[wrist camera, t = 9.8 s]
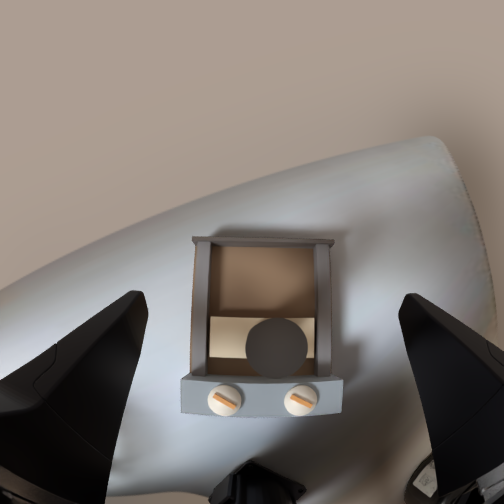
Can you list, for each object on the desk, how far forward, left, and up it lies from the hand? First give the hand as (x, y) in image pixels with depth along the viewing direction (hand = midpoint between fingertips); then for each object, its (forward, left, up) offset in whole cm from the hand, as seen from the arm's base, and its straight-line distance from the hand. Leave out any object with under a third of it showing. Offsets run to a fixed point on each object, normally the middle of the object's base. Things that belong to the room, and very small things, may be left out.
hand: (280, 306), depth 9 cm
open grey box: (0, 0, -13) cm, 14 cm away
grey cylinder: (-1, +1, -12) cm, 12 cm away
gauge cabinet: (-3, +5, -13) cm, 15 cm away
